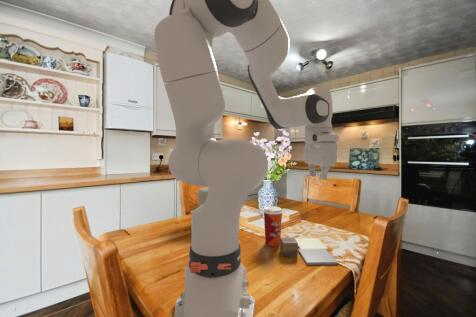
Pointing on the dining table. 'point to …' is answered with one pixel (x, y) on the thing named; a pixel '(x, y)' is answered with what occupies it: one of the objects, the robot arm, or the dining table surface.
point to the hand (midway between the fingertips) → (317, 178)
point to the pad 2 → (317, 257)
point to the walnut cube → (288, 247)
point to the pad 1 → (310, 243)
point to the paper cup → (272, 225)
